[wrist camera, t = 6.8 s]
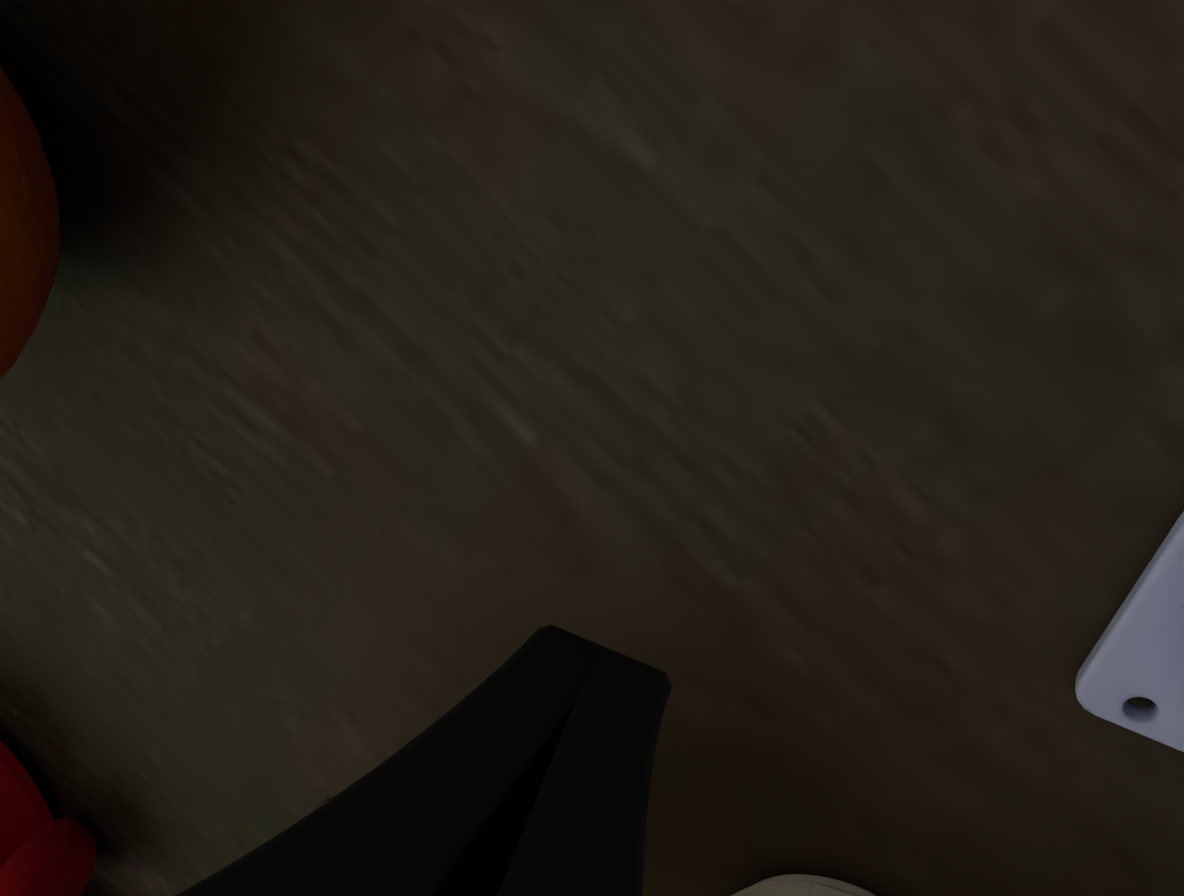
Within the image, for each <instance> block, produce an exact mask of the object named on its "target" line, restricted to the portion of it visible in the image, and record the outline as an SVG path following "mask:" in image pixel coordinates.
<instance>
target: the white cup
mask: <svg viewBox="0 0 1184 896" xmlns="http://www.w3.org/2000/svg"><path fill="white" fill-rule="evenodd" d="M730 896H877V895H875V894H873V893H871V892H869V891H867V890H865V889H862V888H860V887H858V886H855V885H852V884H849V883H847V882H844V881H841V880H837V879H833V878H829V877H823V876H817V875H808V874H786V875H780V876H774V877H771V878H767V879H764V880H762V881H760V882H757V883H755V884H753V885H751V886H749V887H747V888H745V889H743V890H741V891H738V892H736V893H734V894H732V895H730Z"/></svg>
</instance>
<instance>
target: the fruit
mask: <svg viewBox="0 0 1184 896" xmlns="http://www.w3.org/2000/svg"><path fill="white" fill-rule="evenodd" d="M59 243H60V221H59V205H58V201H57V198H56V191H55V185H54V182H53V178H52V174H51V170H50V166H49V164H48V161H47V159H46V156H45V153H44V150H43V147H42V144H41V141H40V138H39V135H38V132H37V130H36V128H35V126H34V124H33V122H32V119H31V117H30V115H29V114H28V112H27V110H26V108H25V106H24V105H23V103H22V101H21V99H20V97H19V96H18V94H17V92H16V90H15V88H14V87H13V85H12V83H11V81H10V80H9V78H8V76H7V75H6V73H5V71H4V70H3V68H2V66H1V64H0V379H1V378H2V377H3V376H4V375H5V374H6V373H7V372H8V371H9V369H10V368H11V367H12V366H13V364H14V363H15V361H16V360H17V359H18V357H19V355H20V353H21V351H22V350H23V348H24V346H25V344H26V342H27V341H28V339H29V337H30V336H31V334H32V333H33V332H34V330H35V328H36V325H37V323H38V320H39V318H40V316H41V314H42V312H43V309H44V307H45V304H46V301H47V298H48V295H49V293H50V290H51V287H52V285H53V281H54V276H55V271H56V266H57V261H58V254H59Z"/></svg>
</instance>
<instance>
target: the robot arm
mask: <svg viewBox="0 0 1184 896" xmlns="http://www.w3.org/2000/svg"><path fill="white" fill-rule="evenodd" d="M672 686H673V685H672V683H671V681H670V680H669V678H668V676H667V675H666V673H665V672H663V671H661V670H658V669H656V668H654V667H651V666H649V665H646V664H644V663H642V662H639V661H637V660H634V659H632V658H630V657H627V656H625V655H622V654H620V653H618V652H615V651H613V650H611V649H608V648H606V647H603V646H601V645H599V644H596V643H594V642H591V641H589V640H587V639H584V638H582V637H579V636H577V635H575V634H572V633H570V632H567V631H565V630H563V629H560V628H558V627H556V626H553V625H548V626H545V627H542V628H539V629H538V630H537V631H536V632H535V633H534V634H533V635H532V636H531V637H530V638H529V639H528V640H527V641H526V642H525V643H524V644H523V645H522V646H521V647H520V648H519V649H518V650H517V651H516V652H515V653H514V654H513V655H512V656H511V657H510V658H509V659H508V660H507V661H506V662H505V663H504V664H503V665H501V666H500V667H499V668H498V669H497V670H496V671H495V672H494V673H493V674H492V675H490V676H489V677H488V678H487V679H486V680H485V681H484V682H483V683H481V684H480V685H479V686H478V687H477V688H476V689H474V690H473V691H472V692H471V693H470V694H469V695H467V696H466V697H465V698H464V699H463V700H462V701H460V702H459V703H458V704H457V705H456V706H455V707H453V708H452V709H451V710H450V711H449V712H447V713H446V714H445V715H443V716H442V717H441V718H440V719H438V720H437V721H436V722H435V723H433V724H432V725H431V726H430V727H428V728H427V729H426V730H424V731H423V732H422V733H421V734H419V735H418V736H417V737H416V738H414V739H413V740H412V741H411V742H409V743H408V744H407V745H406V746H404V747H403V748H402V749H400V750H399V751H398V752H397V753H395V754H394V755H393V756H391V757H390V758H389V759H387V760H386V761H385V762H383V763H382V764H381V765H379V766H378V767H376V768H375V769H374V770H372V771H371V772H369V773H368V774H366V775H365V776H364V777H362V778H361V779H359V780H358V781H356V782H355V783H354V784H352V785H351V786H349V787H348V788H346V789H345V790H344V791H342V792H341V793H339V794H338V795H337V796H335V797H334V798H332V799H331V800H329V801H328V802H327V803H325V804H324V805H322V806H321V807H319V808H318V809H317V810H315V811H314V812H312V813H311V814H309V815H308V816H306V817H305V818H303V819H302V820H300V821H299V822H297V823H296V824H294V825H292V826H291V827H289V828H288V829H286V830H285V831H283V832H282V833H280V834H279V835H277V836H275V837H274V838H272V839H271V840H269V841H267V842H266V843H264V844H263V845H261V846H259V847H258V848H256V849H255V850H253V851H251V852H250V853H248V854H246V855H245V856H243V857H241V858H240V859H238V860H236V861H235V862H233V863H231V864H230V865H228V866H226V867H225V868H223V869H221V870H220V871H218V872H216V873H215V874H213V875H211V876H210V877H208V878H206V879H204V880H203V881H201V882H199V883H198V884H196V885H194V886H192V887H190V888H188V889H187V890H185V891H183V892H181V893H179V894H177V895H176V896H642V886H643V868H644V851H645V833H646V819H647V808H648V798H649V789H650V782H651V774H652V767H653V760H654V754H655V748H656V743H657V737H658V732H659V728H660V723H661V719H662V716H663V712H664V708H665V705H666V703H667V700H668V697H669V694H670V691H671V689H672ZM1075 691H1076V696H1077V700H1078V701H1079V703H1080V704H1081V705H1082V706H1083V708H1084V709H1086V710H1087V711H1089V712H1091V713H1092V714H1094V715H1096V716H1098V717H1101V718H1103V719H1105V720H1108V721H1110V722H1113V723H1115V724H1117V725H1120V726H1122V727H1125V728H1127V729H1129V730H1132V731H1134V732H1136V733H1139V734H1141V735H1144V736H1146V737H1148V738H1151V739H1153V740H1156V741H1158V742H1160V743H1163V744H1165V745H1167V746H1170V747H1172V748H1175V749H1177V750H1179V751H1182V752H1184V510H1183V512H1182V513H1181V515H1180V516H1179V518H1178V519H1177V521H1176V522H1175V524H1174V526H1173V527H1172V529H1171V530H1170V532H1169V533H1168V535H1167V536H1166V538H1165V539H1164V541H1163V542H1162V544H1161V545H1160V547H1159V548H1158V550H1157V551H1156V553H1155V555H1154V556H1153V558H1152V559H1151V561H1150V562H1149V564H1148V565H1147V567H1146V568H1145V570H1144V571H1143V573H1142V574H1141V576H1140V577H1139V579H1138V581H1137V582H1136V584H1135V585H1134V587H1133V588H1132V590H1131V591H1130V593H1129V594H1128V596H1127V597H1126V599H1125V600H1124V602H1123V603H1122V605H1121V606H1120V608H1119V610H1118V611H1117V613H1116V614H1115V616H1114V617H1113V619H1112V620H1111V622H1110V623H1109V625H1108V626H1107V628H1106V629H1105V631H1104V632H1103V634H1102V636H1101V637H1100V639H1099V640H1098V642H1097V643H1096V645H1095V646H1094V648H1093V649H1092V651H1091V652H1090V654H1089V655H1088V657H1087V658H1086V660H1085V661H1084V663H1083V665H1082V666H1081V668H1080V669H1079V671H1078V674H1077V677H1076V687H1075ZM1134 697H1143V698H1148V699H1150V700H1151V701H1153V702H1154V703H1152V704H1151V705H1148V706H1142V707H1140V706H1135V705H1131V704H1130V703H1128V702H1127V700H1128V699H1129V698H1134Z"/></svg>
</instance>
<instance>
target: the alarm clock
mask: <svg viewBox="0 0 1184 896" xmlns="http://www.w3.org/2000/svg"><path fill="white" fill-rule="evenodd" d="M95 857H96V846H95V842H94V840H93V837H92V835H91V833H90V832H89V830H88V829H87V828H85V827H84V826H83V825H82V824H81V823H79V822H77V821H75V820H73V819H71V818H69V817H64V818H61V819H58V820H55V821H54V819H53V817H52V814H51V812H50V810H49V808H48V806H47V804H46V802H45V800H44V798H43V796H42V794H41V793H40V791H39V789H38V788H37V786H36V784H35V783H34V781H33V780H32V778H31V777H30V776H29V774H28V773H27V771H26V770H25V768H24V767H23V766H22V764H21V763H20V762H19V761H18V759H17V758H16V757H15V756H14V755H13V754H12V752H11V751H10V750H9V749H8V748H7V747H6V746H5V745H4V744H3V742H2V741H1V740H0V896H81V894H82V893H83V891H84V889H85V887H86V885H87V883H88V881H89V879H90V876H91V873H92V871H93V868H94V863H95Z"/></svg>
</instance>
